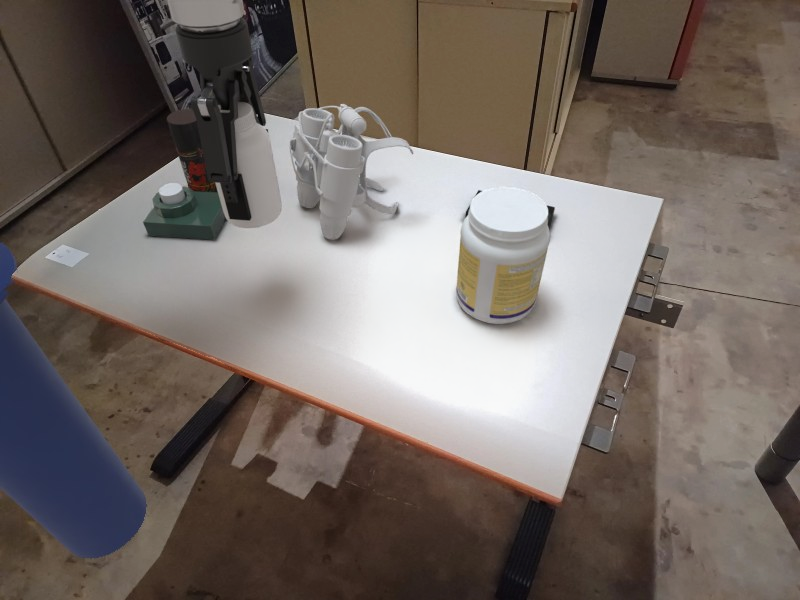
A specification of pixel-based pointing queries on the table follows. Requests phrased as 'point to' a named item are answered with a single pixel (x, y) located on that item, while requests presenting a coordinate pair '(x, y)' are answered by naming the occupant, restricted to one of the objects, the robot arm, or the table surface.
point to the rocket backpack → (336, 164)
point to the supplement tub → (502, 254)
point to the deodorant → (190, 149)
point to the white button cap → (172, 193)
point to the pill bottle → (254, 170)
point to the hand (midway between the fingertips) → (250, 199)
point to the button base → (187, 216)
